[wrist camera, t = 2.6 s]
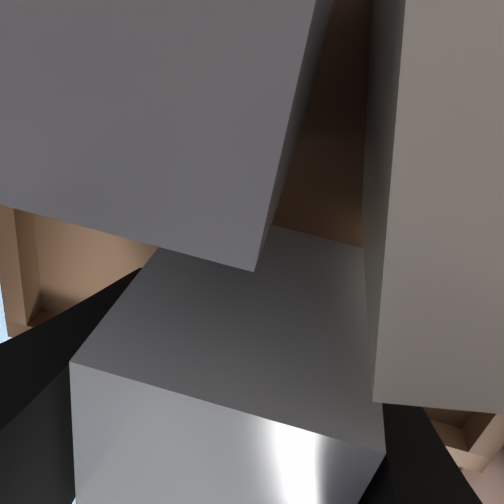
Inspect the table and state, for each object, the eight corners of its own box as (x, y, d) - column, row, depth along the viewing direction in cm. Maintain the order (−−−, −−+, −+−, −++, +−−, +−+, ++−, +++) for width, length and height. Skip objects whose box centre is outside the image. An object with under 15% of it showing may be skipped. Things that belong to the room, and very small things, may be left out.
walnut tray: (34, 309, 13) (8, 336, 12) (-33, -380, 6) (-106, -454, 5) (470, 433, 12) (481, 472, 11) (934, -221, 5) (1072, -275, 4)
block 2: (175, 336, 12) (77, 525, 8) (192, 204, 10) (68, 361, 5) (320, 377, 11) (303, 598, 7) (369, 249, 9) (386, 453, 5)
